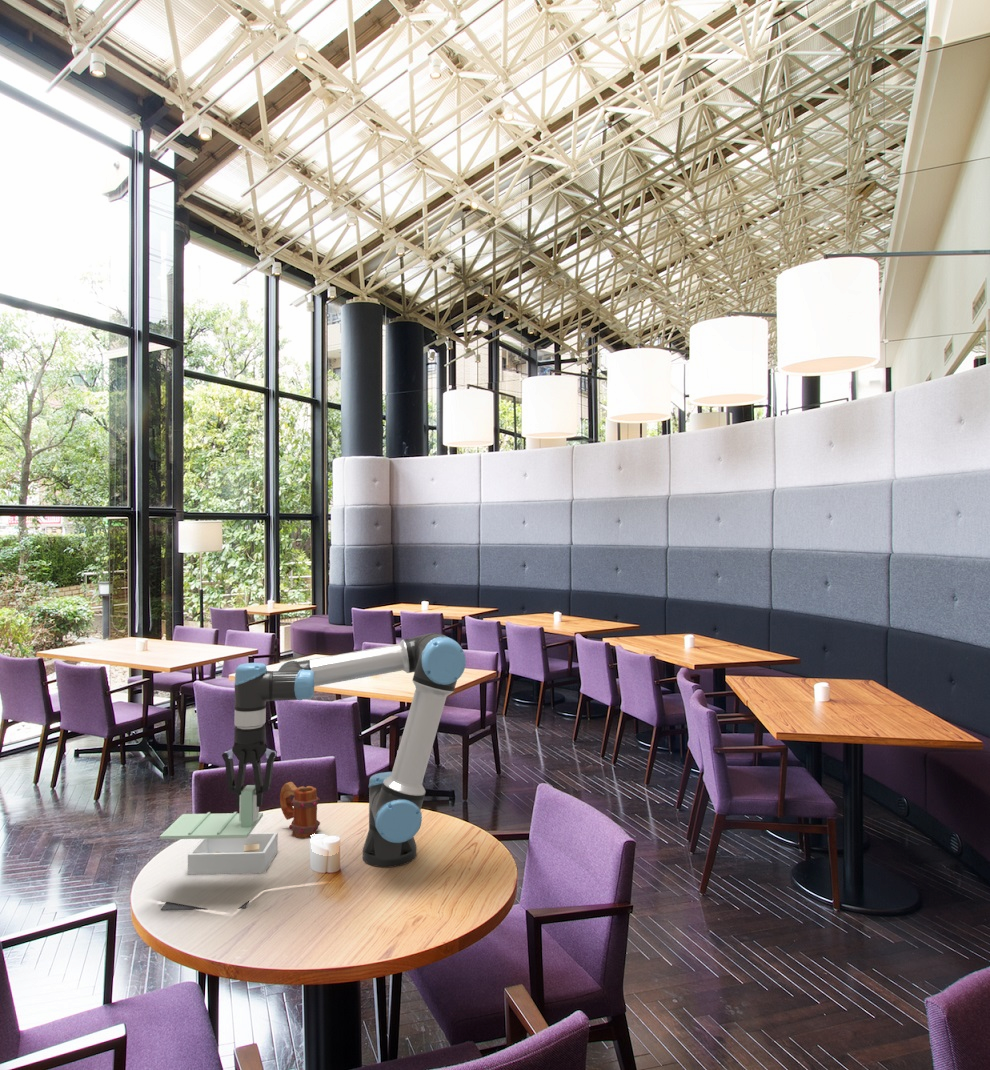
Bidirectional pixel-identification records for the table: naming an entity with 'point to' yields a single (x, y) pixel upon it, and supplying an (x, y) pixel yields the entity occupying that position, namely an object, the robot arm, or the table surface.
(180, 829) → the lid
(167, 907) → the mat
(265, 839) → the tub
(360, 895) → the table surface
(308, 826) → the mug
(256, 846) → the part
